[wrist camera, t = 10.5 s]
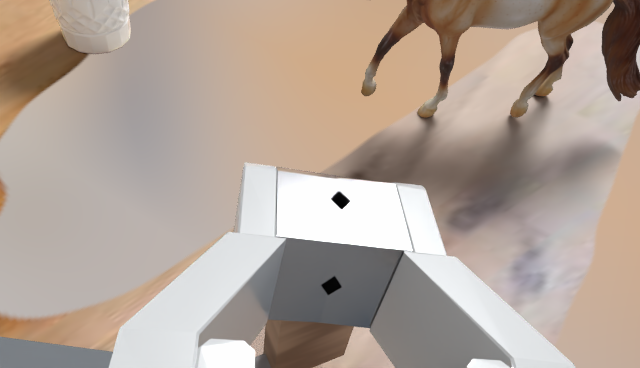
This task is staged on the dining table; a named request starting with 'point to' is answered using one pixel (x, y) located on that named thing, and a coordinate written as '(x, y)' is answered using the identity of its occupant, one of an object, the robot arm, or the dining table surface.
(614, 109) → the dining table surface
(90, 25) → the white cup
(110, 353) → the white-striped grey panel
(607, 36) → the horse figurine
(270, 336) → the lever with brown handle
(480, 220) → the dining table surface
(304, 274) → the robot arm
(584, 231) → the dining table surface
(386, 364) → the dining table surface
